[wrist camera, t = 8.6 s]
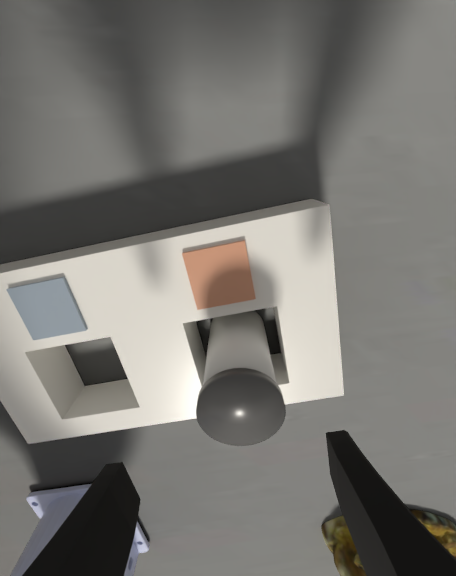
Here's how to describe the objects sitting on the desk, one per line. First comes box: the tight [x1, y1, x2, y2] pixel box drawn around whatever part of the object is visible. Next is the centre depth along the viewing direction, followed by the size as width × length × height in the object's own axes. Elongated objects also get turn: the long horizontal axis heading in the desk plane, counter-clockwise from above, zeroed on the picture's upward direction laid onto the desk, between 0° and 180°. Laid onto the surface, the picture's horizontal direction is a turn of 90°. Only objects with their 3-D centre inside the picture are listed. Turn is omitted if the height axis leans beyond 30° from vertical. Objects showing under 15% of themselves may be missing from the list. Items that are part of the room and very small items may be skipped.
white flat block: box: [0, 199, 344, 444], centre depth 17 cm, size 11×20×3 cm, turn 102°
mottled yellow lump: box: [322, 509, 456, 576], centre depth 26 cm, size 9×5×15 cm
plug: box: [196, 311, 286, 446], centre depth 16 cm, size 4×4×7 cm
